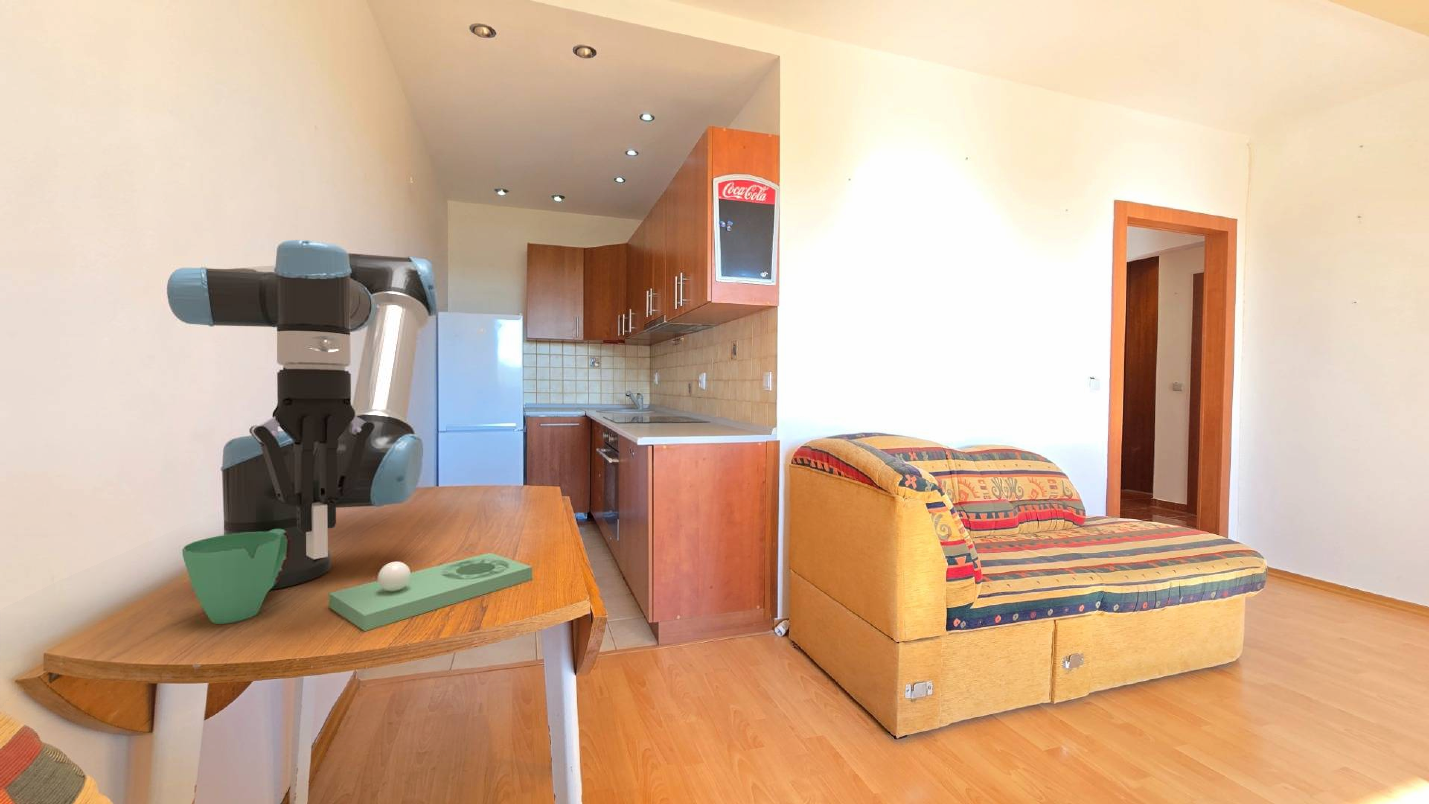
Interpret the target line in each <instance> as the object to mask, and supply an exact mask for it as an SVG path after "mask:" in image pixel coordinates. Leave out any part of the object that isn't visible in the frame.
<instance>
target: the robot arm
mask: <svg viewBox="0 0 1429 804" xmlns="http://www.w3.org/2000/svg"><path fill="white" fill-rule="evenodd" d="M275 256H276V257H275V265H263V266H262V265H261V266H251V267H240V268H239V267H238V268H237V267H236V268H212V267H211V268H210V267H209V268H208V267H205V266H202V267H201V266H200V267H179V268H176V269H175V270H174V272H172V273H171V274H170V275H169V278H168V280H167V285H166V295H167V296H166V297H167V300H168V301H167V302H168V305H169V308H170V310H171V312H172V314H173V315H174V316H175V317H176V319H178V320H179V321H181V322H182V323H185V324H188V325H201V326H202V325H203V326H209V327H214V326H217V327H220V326H222V327H225V326H226V327H262V328H263V327H264V328H265V327H266V328H267V327H268V328H276V363H277V364H279V365H280V366H282V369H279V370H278V371H277V372H276V377H277V378H276V380H277V383H276V387H277V389H276V391H277V395H276V397H277V402H276V403H277V404H276V407H275V408H274V410H273V411H272V414H271V415H272V417H271V418H269V419H267V420H266V421H264V422H263V423H261V424H259V425H253V426H250V428H249V433H250V435H245V436H239V437H235V438H231V439H230V440H228V441H227V442H226V443H225V445H224V446H223V451H222V463H221V464H222V466H221V467H220V471H221V475H222V476H221V478H222V479H221V480H222V506H223V508H222V509H223V510H222V511H223V535H229V534H236V533H246V532H268V531H270V530H273V529H283V530H285V531H286V533H287V534H288V535H289V537H290V547H289V557H288V559H287V562H286V564H285V566H284V568H283V570H282V572H281V574H280V576H279V579H278V581H277V582H276V583H275V585H274V586H273V587H272V588H271V589H270V590H277V589H282V588H285V587H292V586H294V585H298V584H303V583H305V582H309V581H311V580H314V579H317V578H319V577H321V576H323V575H325V574H327V572H329V571H330V570H331V567H332V566H331V552H330V551H329V547H328V545H329V543H328V541H329V540H328V539H329V538H328V537H329V536H328V535H329V534H328V529H333V528H335V527H336V525H337V508H338V509H339V508H340V509H341V508H359V507H360V508H363V507H378V508H379V507H384V506H389V505H398V504H403V503H405V502H407V501H408V500H409V499H410V498H411V497H412V496H413V495H414V494H415V492H416V491H417V487H418V484H419V481H420V478H421V474H422V470H423V469H422V468H423V457H424V446H423V444H424V443H423V441H422V440H423V439H422V438H421V437H420V436H419V435H417V434H415V429H414V427H413V425H412V424H410V422H408V421H407V418H408V412H409V411H408V410H409V405H410V404H409V403H410V397H411V391H412V390H411V389H412V388H411V387H412V381H413V374H414V366H415V365H414V364H415V359H416V351H417V350H416V349H417V344H418V343H417V341H418V335H419V330H421V329H423V328H424V327H425V326H426V325H427V323H428V321H429V317H433V316H437V315H438V314H439V298H438V291H437V284H436V278H435V272H434V268H433V264H432V263H431V262H430V260H427V259H424V258H418V257H413V256H407V257H405V256H404V257H403V256H391V255H377V254H376V255H375V254H366V253H365V254H363V253H361V254H360V253H351V252H349V253H348V252H347V250H346V249H344V248H343V247H341V246H338V245H336V244H331V243H327V242H323V241H316V240H315V241H314V240H306V239H305V240H304V239H291V240H284V241H282V242H281V243H280V244H278V246H277V248H276V255H275ZM365 328H366V332H365V337H364V343H363V348H362V352H361V360H360V363H359V369H358V374H357V380H356V384H355V390H354V395H353V399H352V375H351V374H352V373H350V371H349V370H346V367H349V366H351V333H355V332H358V331H359V332H360V331H362V330H363V329H365ZM351 400H352V401H351ZM278 428H280V429H281V430H280V431H279V430H278ZM270 590H269V591H270Z"/></svg>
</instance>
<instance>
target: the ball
mask: <svg viewBox="0 0 1429 804" xmlns="http://www.w3.org/2000/svg"><path fill="white" fill-rule="evenodd" d="M410 576H411V570H410V567H409V565H407V564H406V563H404V562H402V561H391V562H389V563H386V564H385V565H383V566H382V567H381V569H380V570H379V571H378V574H377V581H378V584H379V585H380V587H381V588H382V589H384V590H386V591H390V592H393V591H398V590H400V589H402V588H404V587H405V586H406V585H407V583H408V582H409V580H410Z"/></svg>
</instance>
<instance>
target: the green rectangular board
mask: <svg viewBox="0 0 1429 804" xmlns="http://www.w3.org/2000/svg"><path fill="white" fill-rule="evenodd" d="M410 573H411V576H410V580H409V582H408V583H407V585H406V586H405V587H404V588H402V589H400V590H398V591H393V592H390V591H386V590H384V589H382V588H381V587H380V585H379V584H378V580H377V581H371V582H368V583H364V584H359V585H357V586H352V587H349V588H348V587H347V588H344V589H340V590H335V591H332V592H329V593H328V607H329V609H331V610H333V611H334V612H336V613H337V614H338V615H340V616H341V617H343V618H344V619H346V620H347V621H349V622H350V623H352V624H353V625H354V626H356V627H358V628H359V629H360V630H362V631H363V632H366V631H367V632H368V631H370V630H373V629H377V628H380V627H383V626H386V625H390V624H393V623H395V622H399V621H403V620H405V619H409V618H412V617H414V616H415V617H416V616H418V615H421V614H425V613H427V612H431V611H434V610H439V609H441V608H445V607H447V606H451V605H454V604H457V603H460V602H464V601H467V600H469V599H474V598H476V597H480V596H482V595H486V594H489V593H493V592H496V591H499V590H503V589H506V588H509V587H512V586H514V585H515V586H516V585H518V584H522V583H525V582H529V581H531V580H533V566H530V565H527V564H524V563H521V562H519V561H516V560H513V559H510V558H508V557H505V556H502V555H499V554H495V553H492V552H488V553H485V554H480V555H475V556H471V557H468V558H464V559H460V560H456V561H452V562H449V563H443V564H441V565H436V566H432V567H428V568H423V569H420V570H416V571H412V572H411V571H410Z"/></svg>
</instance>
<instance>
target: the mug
mask: <svg viewBox="0 0 1429 804" xmlns="http://www.w3.org/2000/svg"><path fill="white" fill-rule="evenodd" d="M289 547H290V537H289V535H288V534H287V533H286V531H285V530H283V529H273V530H270V531H268V532H246V533H236V534H229V535H224V534H223V535H216V536H212V537H207V538H203V539H200V540H197V541H194V542H191V543H189V544H186V545H184V547H183V548H182V557H183V561H184V564H185V568H186V570H187V573H188V577H189V580H190V583H191V585H192V588H193V591H194V593H195V595H196V598H197V599H198V602H199V603H200V606H201V608H202V609H203V611H204V612H205V614H206V616H207V617H208V619H209V621H210V622H211V623H212V624H217V625H221V624H222V625H225V624H231V623H233V624H234V623H236V622H241V621H244V620H248V619H250V618H253V617H254V616H256V615H257V614H258V613H259V611H260V609H261V607H262V604H263V602H264V600H265V598H266V597H267V596H266V595H267V594H268V592H269V591H270V589H271V588H272V587H273V586H274V585H275V583H276V582H277V581H278V579H279V576H280V574H281V572H282V570H283V568H284V566H285V564H286V562H287V559H288V557H289Z"/></svg>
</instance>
